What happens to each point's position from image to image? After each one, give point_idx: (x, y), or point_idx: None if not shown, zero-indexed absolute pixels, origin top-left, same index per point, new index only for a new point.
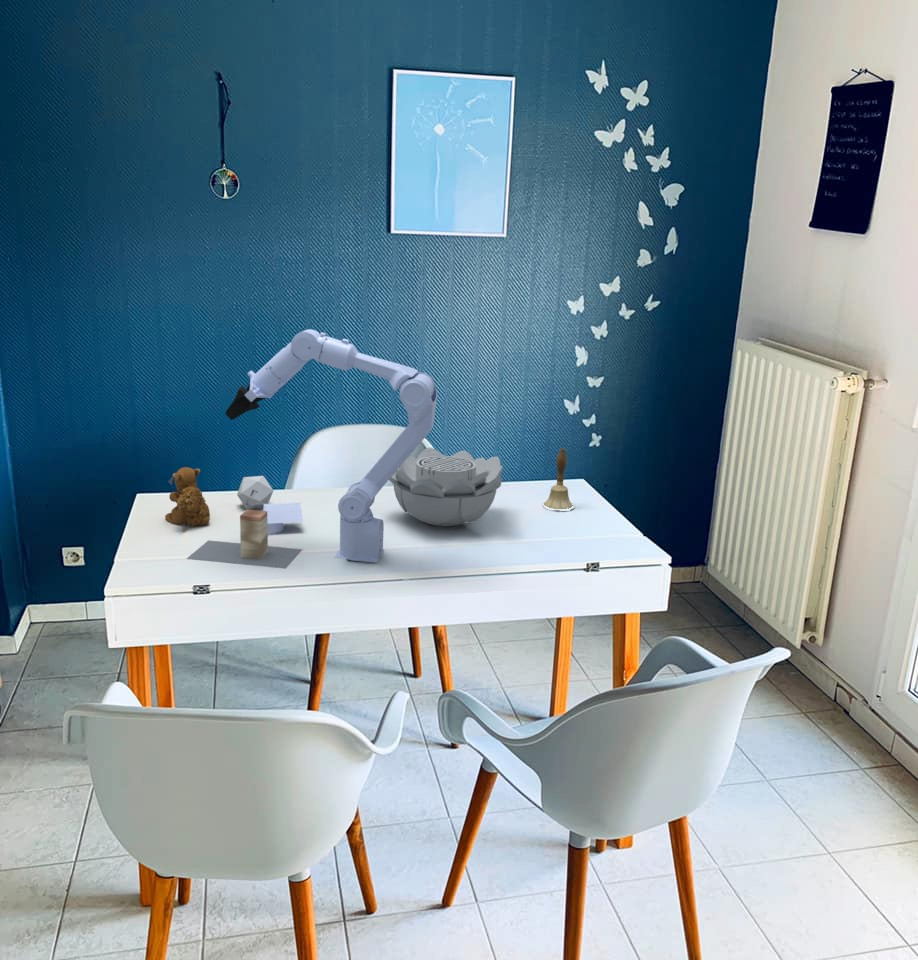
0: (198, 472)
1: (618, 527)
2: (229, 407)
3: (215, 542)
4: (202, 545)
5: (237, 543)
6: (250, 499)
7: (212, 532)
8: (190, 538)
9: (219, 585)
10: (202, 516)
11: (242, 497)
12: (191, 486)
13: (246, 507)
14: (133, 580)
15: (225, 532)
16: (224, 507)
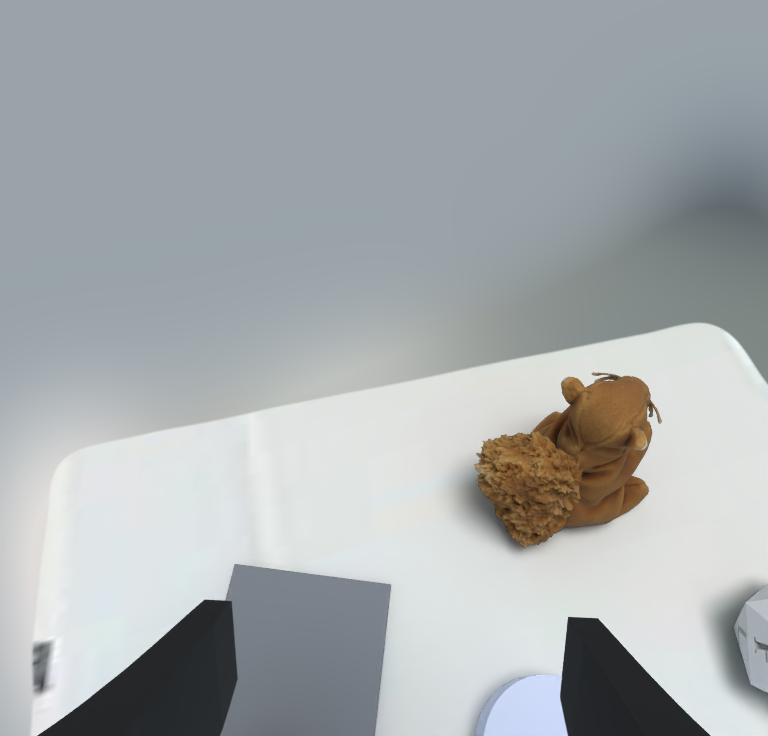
0: (630, 448)
1: None
2: (150, 652)
3: (375, 612)
4: (344, 579)
5: (376, 691)
6: (745, 642)
7: (483, 572)
8: (420, 523)
9: (34, 725)
10: (514, 524)
11: (742, 608)
12: (553, 454)
13: (735, 625)
14: (109, 475)
15: (493, 613)
16: (719, 545)
